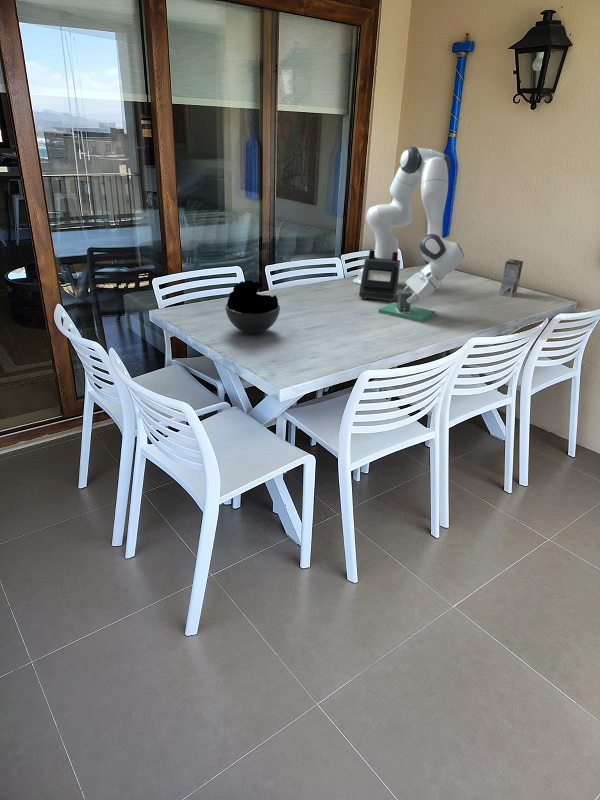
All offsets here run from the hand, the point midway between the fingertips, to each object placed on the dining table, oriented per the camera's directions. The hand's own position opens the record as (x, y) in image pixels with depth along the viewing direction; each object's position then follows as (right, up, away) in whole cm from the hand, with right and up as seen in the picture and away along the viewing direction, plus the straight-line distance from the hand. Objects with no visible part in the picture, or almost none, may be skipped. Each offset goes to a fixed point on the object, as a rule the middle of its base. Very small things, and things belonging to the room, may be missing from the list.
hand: (404, 298), depth 229 cm
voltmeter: (-7, +5, +26) cm, 28 cm away
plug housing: (0, -5, +2) cm, 5 cm away
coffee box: (+59, +10, +40) cm, 72 cm away
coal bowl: (-62, -17, -24) cm, 69 cm away
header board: (+2, -6, +4) cm, 7 cm away
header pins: (0, -5, +2) cm, 5 cm away
